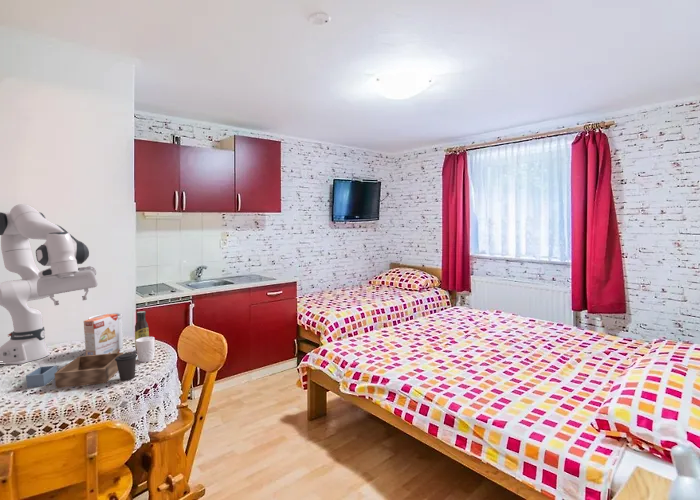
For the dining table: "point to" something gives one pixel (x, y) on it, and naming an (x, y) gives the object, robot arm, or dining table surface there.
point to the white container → (118, 326)
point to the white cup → (145, 349)
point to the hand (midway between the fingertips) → (71, 302)
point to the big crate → (87, 370)
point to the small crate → (41, 376)
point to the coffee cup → (126, 366)
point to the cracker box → (102, 335)
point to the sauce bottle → (141, 326)
